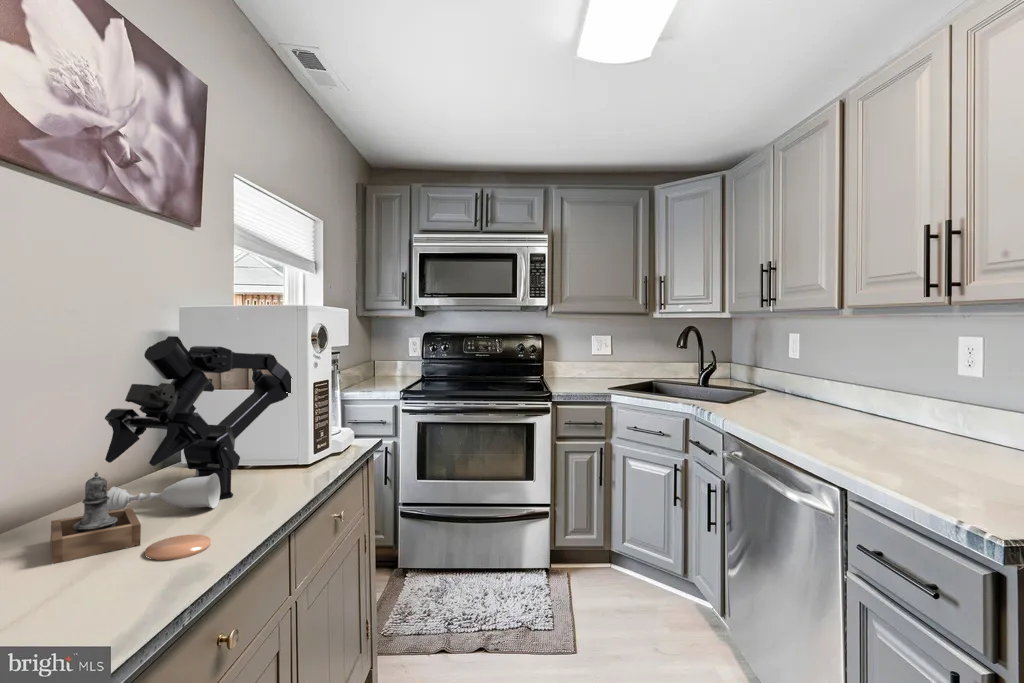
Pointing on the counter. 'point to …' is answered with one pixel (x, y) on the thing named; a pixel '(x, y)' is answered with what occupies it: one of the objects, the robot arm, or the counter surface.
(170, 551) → the terracotta coaster
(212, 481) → the chalice
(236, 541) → the counter surface
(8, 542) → the counter surface
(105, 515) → the pewter pepper pot
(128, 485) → the counter surface
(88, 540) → the walnut collar
